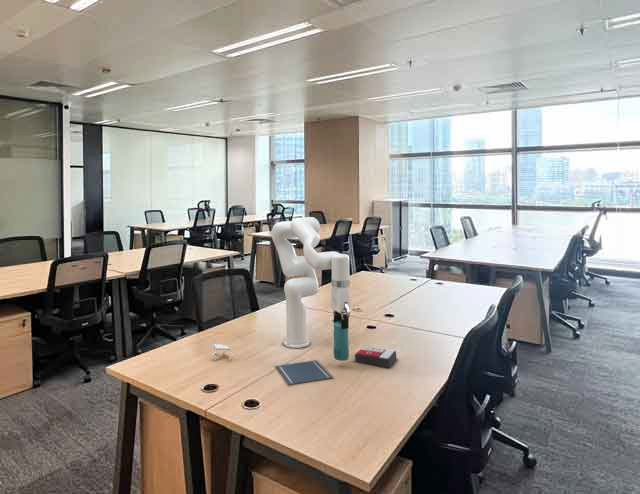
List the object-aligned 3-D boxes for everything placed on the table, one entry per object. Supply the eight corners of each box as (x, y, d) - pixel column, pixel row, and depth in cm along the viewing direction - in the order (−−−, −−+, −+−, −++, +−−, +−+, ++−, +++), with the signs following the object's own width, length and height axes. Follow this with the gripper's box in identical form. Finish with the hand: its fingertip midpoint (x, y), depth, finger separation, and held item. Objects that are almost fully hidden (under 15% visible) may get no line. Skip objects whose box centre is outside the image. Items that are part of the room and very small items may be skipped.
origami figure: (205, 360, 188) (205, 348, 188) (215, 353, 195) (215, 342, 195) (229, 363, 183) (229, 352, 184) (238, 356, 191) (238, 345, 191)
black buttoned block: (363, 345, 194) (396, 349, 187) (364, 354, 194) (396, 359, 187) (354, 353, 185) (388, 357, 177) (355, 363, 184) (389, 368, 177)
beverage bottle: (350, 359, 181) (350, 312, 181) (347, 365, 175) (346, 316, 175) (335, 357, 183) (335, 311, 184) (332, 363, 177) (331, 315, 177)
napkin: (276, 366, 180) (276, 366, 180) (315, 361, 185) (315, 360, 185) (289, 385, 163) (289, 384, 163) (332, 378, 168) (332, 377, 168)
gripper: (324, 280, 186) (324, 321, 186) (341, 288, 170) (341, 333, 170) (340, 279, 189) (340, 319, 189) (358, 287, 172) (358, 331, 172)
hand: (341, 325), depth 179 cm, fingers closed on beverage bottle, 6 cm apart
